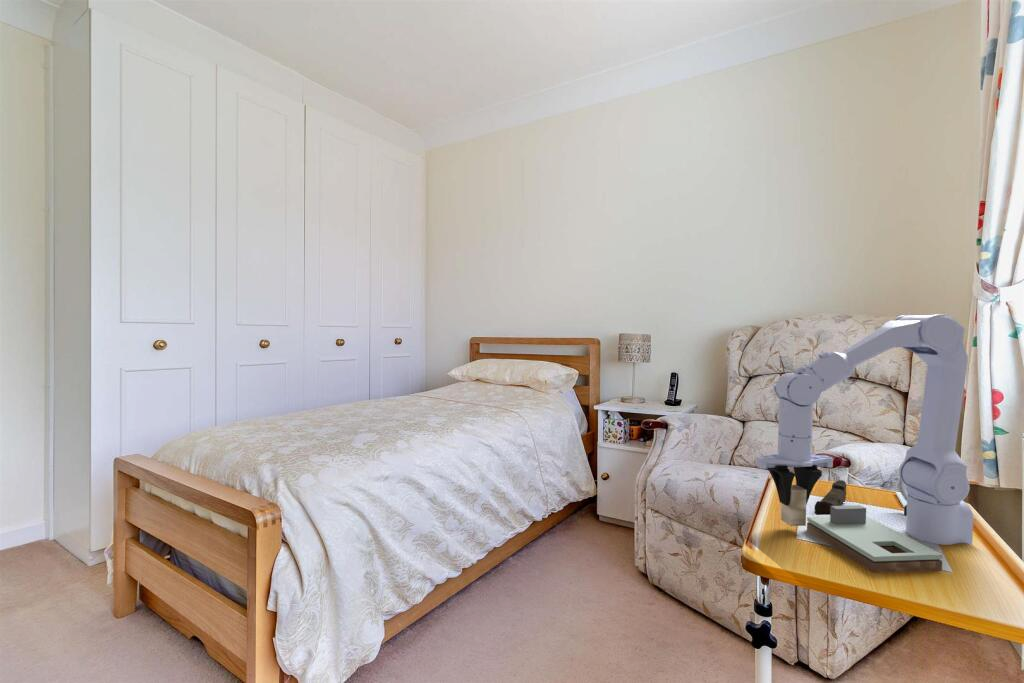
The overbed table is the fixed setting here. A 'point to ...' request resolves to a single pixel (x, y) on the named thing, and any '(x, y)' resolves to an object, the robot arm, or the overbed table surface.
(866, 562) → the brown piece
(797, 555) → the overbed table surface
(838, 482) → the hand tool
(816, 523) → the lid
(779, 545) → the overbed table surface
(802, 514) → the block
